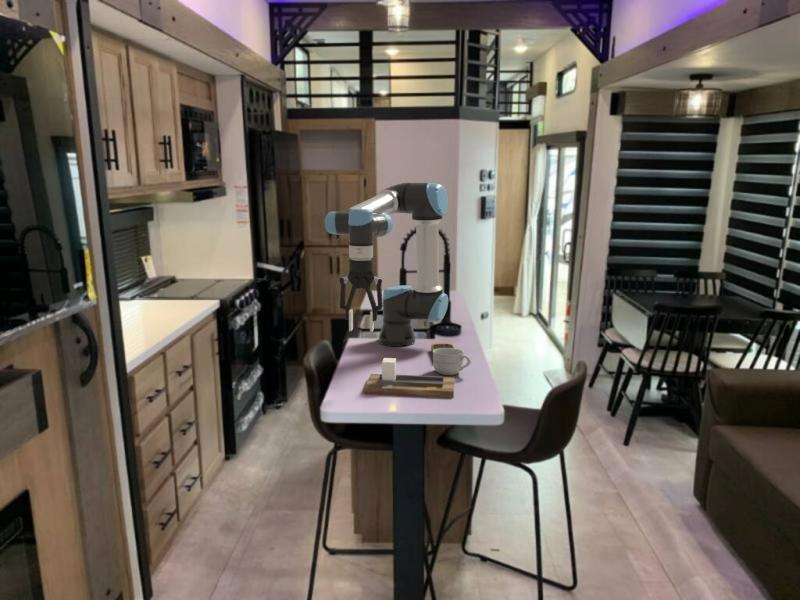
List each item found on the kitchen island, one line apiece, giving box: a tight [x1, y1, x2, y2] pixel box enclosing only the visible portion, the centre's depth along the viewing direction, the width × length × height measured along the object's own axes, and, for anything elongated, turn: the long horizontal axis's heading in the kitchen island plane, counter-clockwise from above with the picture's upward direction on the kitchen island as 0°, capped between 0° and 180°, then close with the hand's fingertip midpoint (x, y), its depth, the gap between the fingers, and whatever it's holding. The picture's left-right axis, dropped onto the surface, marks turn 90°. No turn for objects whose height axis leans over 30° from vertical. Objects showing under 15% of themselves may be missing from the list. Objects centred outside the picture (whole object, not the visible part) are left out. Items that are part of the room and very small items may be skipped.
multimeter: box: [430, 342, 456, 354], centre depth 223 cm, size 9×18×3 cm, turn 4°
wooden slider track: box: [364, 373, 455, 398], centre depth 190 cm, size 13×28×3 cm, turn 84°
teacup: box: [432, 347, 472, 376], centre depth 204 cm, size 14×11×8 cm
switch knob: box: [381, 357, 397, 381], centre depth 190 cm, size 4×4×7 cm
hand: (361, 330), depth 188 cm, fingers open, 6 cm apart
